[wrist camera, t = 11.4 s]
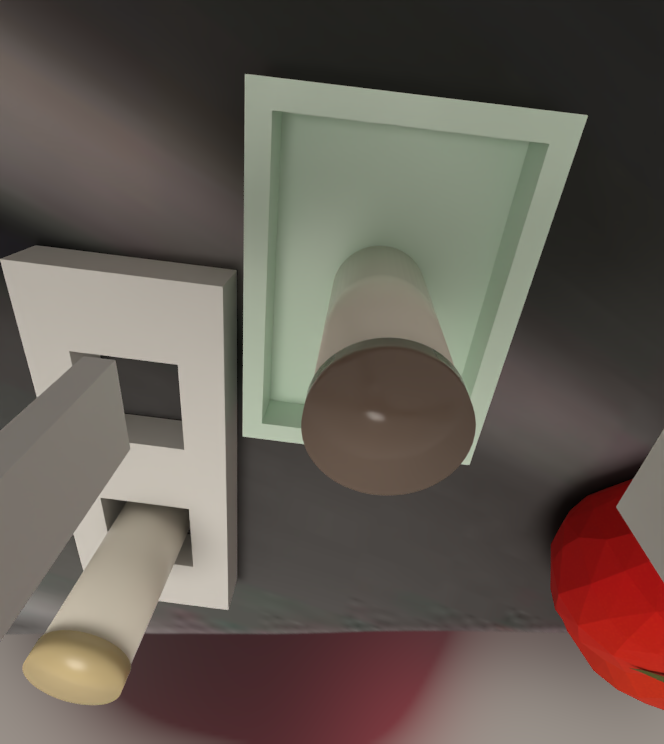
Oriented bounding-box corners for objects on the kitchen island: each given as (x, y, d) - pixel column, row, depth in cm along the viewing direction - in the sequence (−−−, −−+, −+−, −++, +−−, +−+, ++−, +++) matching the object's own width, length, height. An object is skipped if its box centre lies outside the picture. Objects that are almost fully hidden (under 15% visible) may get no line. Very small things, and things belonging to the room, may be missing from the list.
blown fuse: (335, 237, 20) (308, 344, 11) (436, 250, 20) (498, 368, 11) (325, 329, 23) (295, 484, 13) (416, 341, 23) (452, 504, 13)
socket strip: (35, 245, 22) (-216, 342, 13) (236, 270, 22) (137, 387, 12) (106, 561, 34) (5, 734, 25) (237, 578, 34) (186, 758, 24)
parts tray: (261, 79, 18) (244, 73, 16) (558, 115, 18) (588, 115, 16) (254, 406, 26) (242, 436, 24) (459, 432, 26) (469, 465, 24)
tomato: (765, 456, 25) (981, 640, 16) (652, 593, 32) (764, 780, 23) (571, 425, 25) (682, 593, 16) (496, 569, 32) (547, 747, 23)
